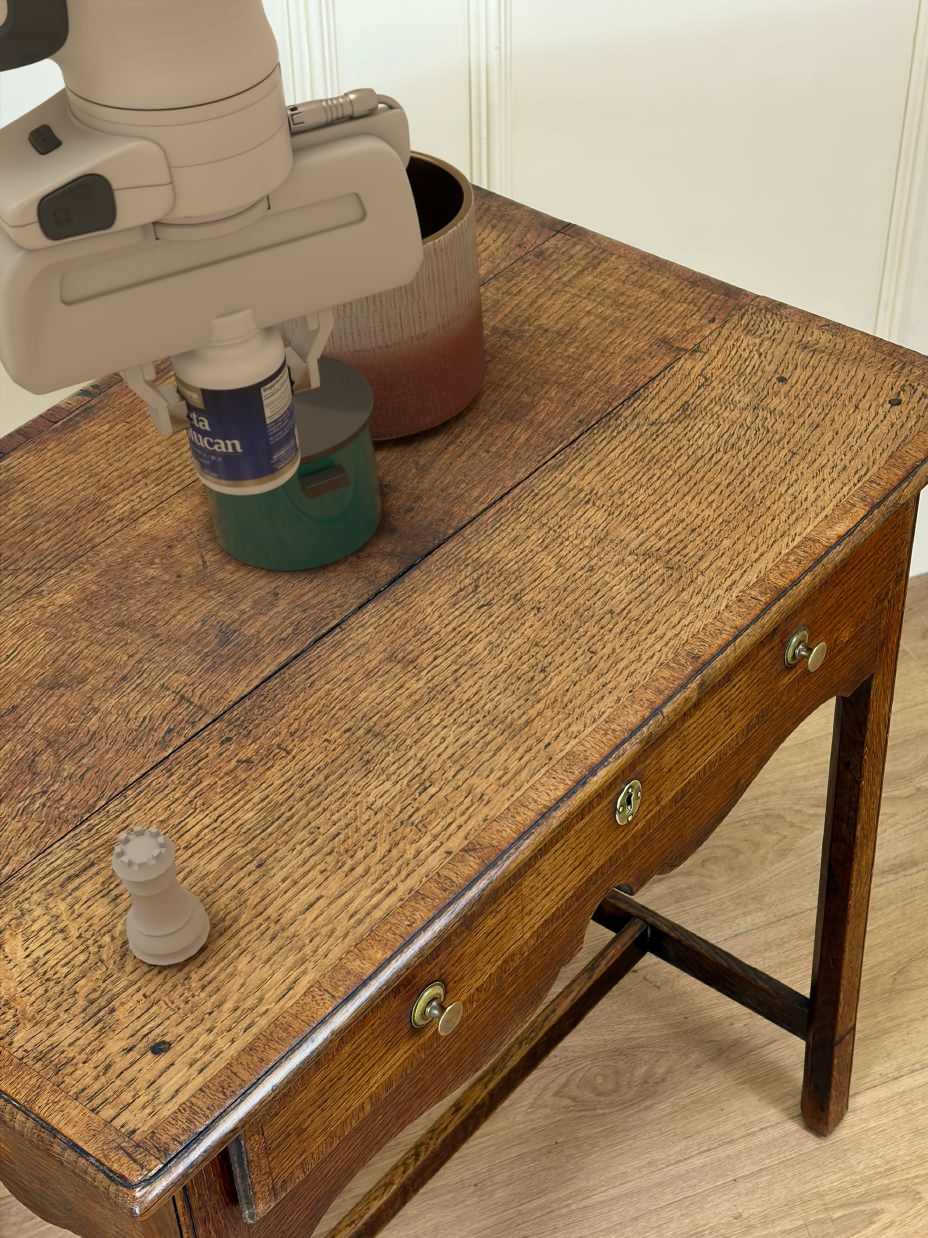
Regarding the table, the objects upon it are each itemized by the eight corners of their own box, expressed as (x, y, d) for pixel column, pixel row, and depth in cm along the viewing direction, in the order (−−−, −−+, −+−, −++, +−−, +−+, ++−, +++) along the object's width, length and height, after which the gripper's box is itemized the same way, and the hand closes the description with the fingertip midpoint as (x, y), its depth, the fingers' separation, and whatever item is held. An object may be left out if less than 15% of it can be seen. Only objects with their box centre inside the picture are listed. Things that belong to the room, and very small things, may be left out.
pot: (256, 606, 100) (231, 493, 93) (177, 492, 109) (150, 380, 102) (424, 542, 104) (413, 428, 97) (335, 437, 113) (319, 326, 106)
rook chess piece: (134, 906, 83) (101, 813, 77) (215, 900, 83) (187, 807, 77) (125, 973, 80) (89, 882, 74) (208, 967, 80) (179, 875, 74)
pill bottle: (176, 487, 75) (135, 315, 68) (226, 427, 78) (192, 258, 71) (273, 508, 73) (242, 335, 66) (319, 446, 77) (294, 276, 70)
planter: (320, 311, 126) (294, 130, 115) (517, 345, 121) (510, 160, 110) (223, 428, 114) (183, 240, 103) (436, 470, 110) (419, 278, 99)
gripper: (373, 53, 69) (398, 318, 78) (-71, 161, 62) (17, 435, 72) (436, 104, 65) (453, 375, 75) (-31, 224, 58) (56, 505, 68)
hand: (236, 406), depth 73 cm, fingers closed on pill bottle, 5 cm apart
